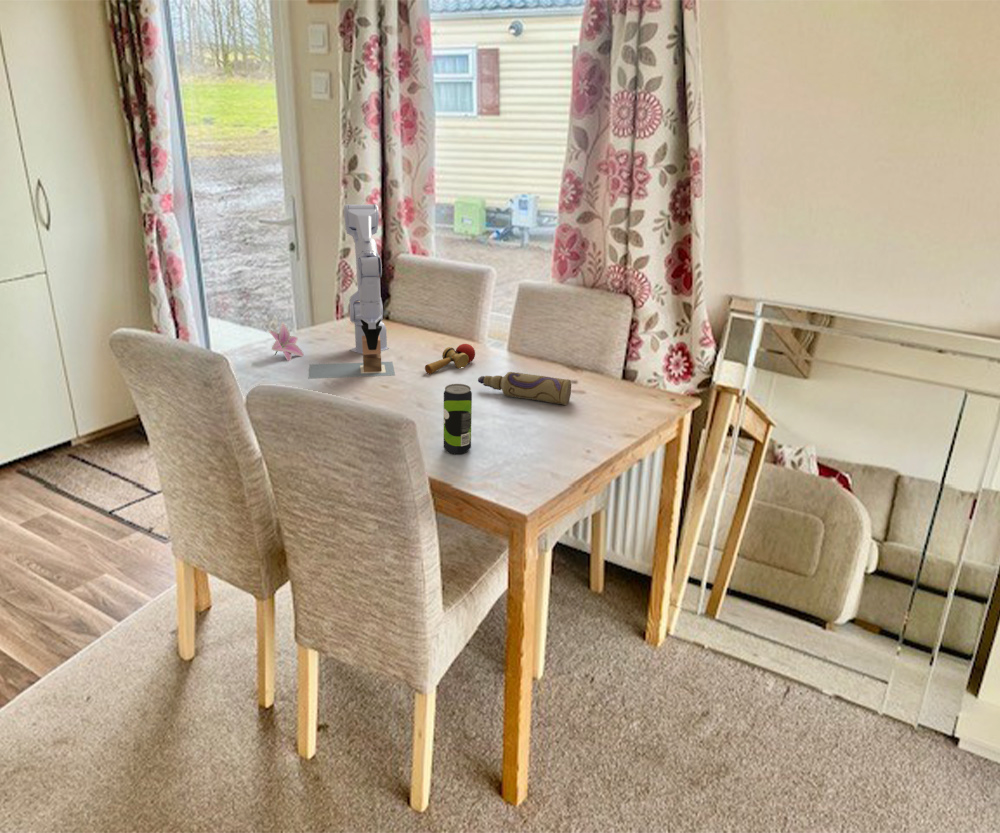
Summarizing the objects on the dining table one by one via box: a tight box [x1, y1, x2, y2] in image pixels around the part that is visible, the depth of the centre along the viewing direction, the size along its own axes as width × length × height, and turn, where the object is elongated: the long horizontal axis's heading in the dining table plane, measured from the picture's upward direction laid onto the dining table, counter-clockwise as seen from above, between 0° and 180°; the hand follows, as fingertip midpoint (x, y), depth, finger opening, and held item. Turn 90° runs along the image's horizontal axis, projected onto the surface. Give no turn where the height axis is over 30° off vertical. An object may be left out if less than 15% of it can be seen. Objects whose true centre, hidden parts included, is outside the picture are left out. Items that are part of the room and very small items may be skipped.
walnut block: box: [362, 353, 382, 372], centre depth 225 cm, size 5×5×4 cm
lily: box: [268, 321, 305, 362], centre depth 232 cm, size 12×12×10 cm
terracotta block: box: [362, 335, 382, 355], centre depth 223 cm, size 5×5×4 cm
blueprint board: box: [308, 361, 396, 380], centre depth 224 cm, size 24×12×1 cm, turn 101°
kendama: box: [424, 343, 476, 375], centre depth 229 cm, size 8×6×18 cm
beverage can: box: [443, 383, 473, 455], centre depth 175 cm, size 6×6×15 cm
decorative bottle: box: [477, 371, 572, 406], centre depth 209 cm, size 26×8×7 cm, turn 69°
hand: (372, 346), depth 223 cm, fingers closed on terracotta block, 5 cm apart
